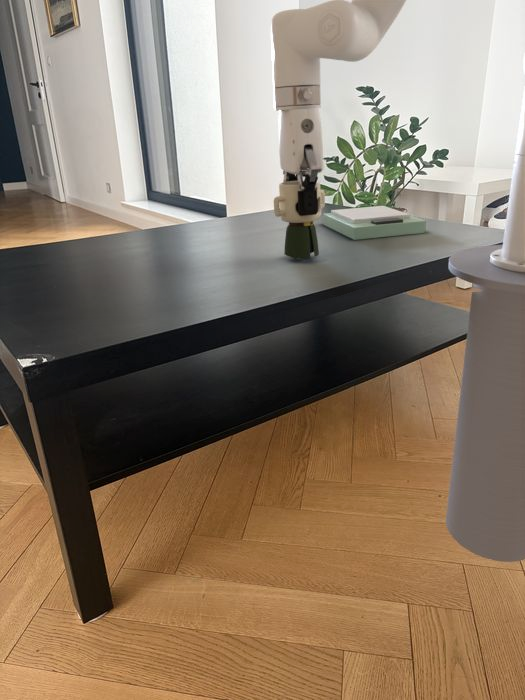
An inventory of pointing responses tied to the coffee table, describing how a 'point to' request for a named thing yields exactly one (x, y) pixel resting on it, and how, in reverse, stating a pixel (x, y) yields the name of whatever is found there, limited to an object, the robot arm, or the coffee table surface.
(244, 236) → the coffee table surface
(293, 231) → the character mug
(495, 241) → the coffee table surface
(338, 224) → the scale
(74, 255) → the coffee table surface
